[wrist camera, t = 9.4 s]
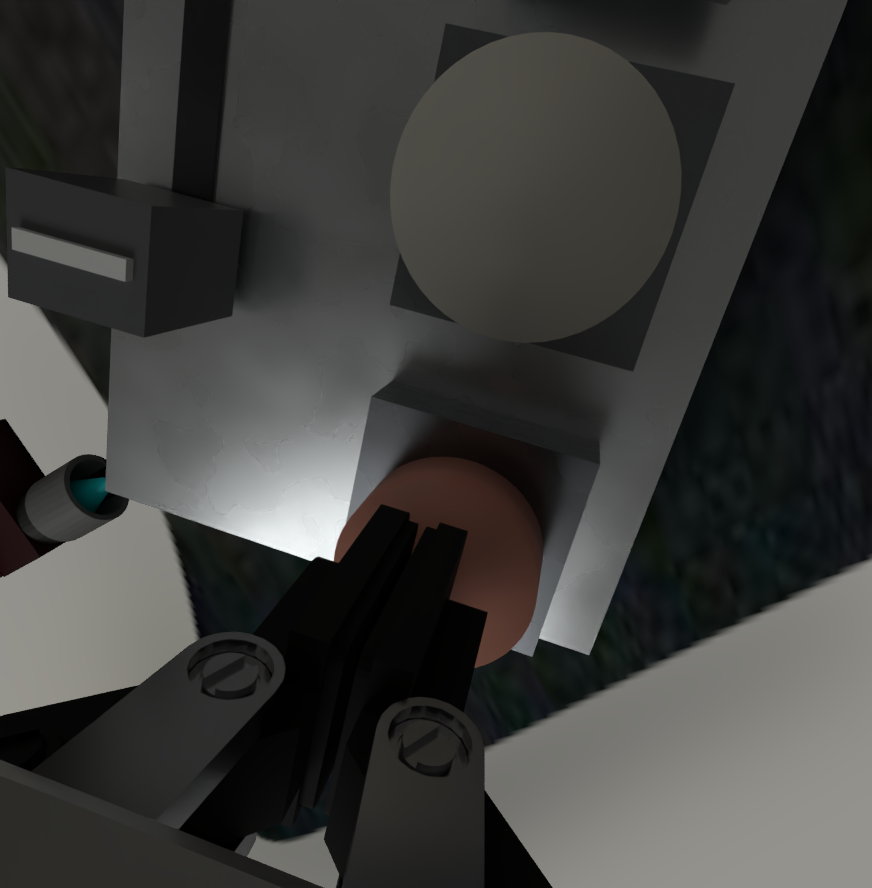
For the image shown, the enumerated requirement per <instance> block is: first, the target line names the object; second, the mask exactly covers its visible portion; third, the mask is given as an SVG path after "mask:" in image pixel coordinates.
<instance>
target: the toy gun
mask: <svg viewBox="0 0 872 888" xmlns="http://www.w3.org/2000/svg"><path fill="white" fill-rule="evenodd" d="M105 485H106V459H104V458H102V457H100V456H96V455H90V454H88V455H81V456H78V457H76V458H74V459H73V460H71V461H69V462H68V463H66V464H65V465H63V466H61V467H60V468H58V469H56V470H55V471H53V472H51V473H50V474H49V475H47V476H45V475H44V473H43V472H42V470H41V469H40V468H39V466H38V465H37V463H36V462H35V460H34V459H33V458H32V456H31V455H30V453H29V452H28V451H27V449H26V447H25V446H24V445H23V443H22V442H21V440H20V439H19V437H18V436H17V435H16V433H15V432H14V430H13V429H12V427H11V426H10V424H9V423H8V422H7V420H6V419H2V420H0V577H2V576H4V577H5V576H7V575H9V574H10V573H12V572H14V571H16V570H18V569H19V568H21V567H23V566H25V565H27V564H28V563H30V562H32V561H34V560H36V559H38V558H40V557H41V556H43V555H45V554H46V553H48V552H50V551H51V550H53V549H55V548H56V547H58V546H60V545H61V544H63V543H65V542H66V541H72V540H76V539H78V538H80V537H82V536H84V535H86V534H87V533H89V532H91V531H93V530H95V529H96V528H98V527H100V526H102V525H104V524H106V523H107V522H109V521H111V520H113V519H115V518H117V517H119V516H120V515H121V514H122V513H123V512H124V511H125V509H126V508H127V505H128V502H129V499H128V498H125V497H122V496H119V495H116V494H113V493H110V492H107V491H105Z"/></svg>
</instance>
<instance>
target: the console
mask: <svg viewBox="0 0 872 888" xmlns="http://www.w3.org/2000/svg"><path fill="white" fill-rule="evenodd" d="M847 1H848V0H731V1H730V2H729V3H728V4H727V5H723V4H718V3H713V2H708V1H702V0H124V23H123V48H122V74H121V100H120V125H119V151H118V177H117V179H125V180H129V181H133V182H137V183H141V184H144V185H148V186H152V187H156V188H160V189H163V190H167V191H171V192H175V193H179V194H182V195H186V196H190V197H194V198H198V199H202V200H205V201H209V202H213V203H217V204H221V205H224V206H228V207H232V208H236V209H240V210H243V211H244V212H243V222H242V231H241V240H240V249H239V258H238V267H237V277H236V286H235V295H234V304H233V313H232V316H231V317H227V318H223V319H218V320H214V321H210V322H206V323H202V324H198V325H194V326H190V327H186V328H182V329H178V330H174V331H169V332H165V333H161V334H157V335H153V336H149V337H145V338H143V337H140V336H136V335H133V334H130V333H126V332H123V331H120V330H116V329H113V328H112V331H111V357H110V382H109V408H108V434H107V459H106V485H105V491H107V492H110V493H113V494H116V495H119V496H122V497H125V498H128V499H131V500H134V501H137V502H140V503H143V504H145V505H148V506H152V507H154V508H157V509H160V510H163V511H166V512H169V513H172V514H175V515H178V516H181V517H184V518H187V519H190V520H193V521H196V522H198V523H201V524H204V525H207V526H210V527H213V528H216V529H219V530H222V531H225V532H228V533H231V534H234V535H237V536H240V537H243V538H246V539H249V540H252V541H254V542H257V543H260V544H263V545H266V546H269V547H272V548H275V549H278V550H281V551H284V552H287V553H290V554H293V555H296V556H299V557H302V558H305V559H307V560H310V561H312V560H313V559H315V558H316V557H322V558H325V559H328V560H331V561H334V554H335V548H336V545H337V541H338V538H339V536H340V534H341V531H342V529H343V528H344V526H345V524H346V523H347V521H348V520H349V518H350V517H351V516H352V515H353V514H354V512H355V511H356V510H357V509H358V508H359V506H360V505H361V504H362V503H363V502H364V500H365V499H366V498H367V497H368V496H369V494H370V493H371V492H372V491H373V490H374V489H375V487H376V486H377V485H378V484H379V483H380V482H381V481H382V479H384V478H385V477H386V476H387V475H388V474H390V473H391V472H392V471H394V470H395V469H397V468H399V467H400V466H403V465H405V464H407V463H409V462H412V461H416V460H419V459H423V458H430V457H455V458H461V459H465V460H470V461H473V462H476V463H478V464H481V465H484V466H486V467H488V468H490V469H492V470H494V471H495V472H497V473H498V474H500V475H501V476H503V477H504V478H506V479H507V480H508V481H509V482H510V483H512V484H513V485H514V486H515V487H516V488H517V489H518V490H519V491H520V493H521V494H522V495H523V496H524V497H525V499H526V500H527V502H528V503H529V505H530V506H531V508H532V510H533V512H534V514H535V516H536V518H537V520H538V523H539V526H540V529H541V534H542V539H543V561H542V568H541V575H540V582H539V588H538V595H537V602H536V607H535V611H534V615H533V618H532V620H531V622H530V625H529V627H528V629H527V630H526V632H525V633H524V635H523V637H522V638H521V639H520V640H519V641H518V643H517V644H516V645H515V646H514V647H513V648H512V649H511V650H514V651H517V652H520V653H523V654H526V655H529V656H533V653H534V650H535V647H536V644H537V642H538V639H539V638H540V639H543V640H546V641H549V642H552V643H555V644H558V645H561V646H564V647H567V648H570V649H573V650H576V651H579V652H581V653H584V654H587V655H589V654H590V651H591V649H592V646H593V644H594V641H595V639H596V636H597V634H598V631H599V629H600V626H601V624H602V621H603V619H604V616H605V614H606V611H607V608H608V606H609V603H610V601H611V598H612V596H613V593H614V591H615V588H616V586H617V583H618V581H619V578H620V576H621V573H622V570H623V568H624V565H625V563H626V560H627V558H628V555H629V553H630V550H631V548H632V545H633V543H634V540H635V538H636V535H637V533H638V530H639V527H640V525H641V522H642V520H643V517H644V515H645V512H646V510H647V507H648V505H649V502H650V500H651V497H652V495H653V492H654V490H655V487H656V484H657V482H658V479H659V477H660V474H661V472H662V469H663V467H664V464H665V462H666V459H667V457H668V454H669V452H670V449H671V447H672V444H673V441H674V439H675V436H676V434H677V431H678V429H679V426H680V424H681V421H682V419H683V416H684V414H685V411H686V409H687V406H688V404H689V401H690V398H691V396H692V393H693V391H694V388H695V386H696V383H697V381H698V378H699V376H700V373H701V371H702V368H703V366H704V363H705V361H706V358H707V355H708V353H709V350H710V348H711V345H712V343H713V340H714V338H715V335H716V333H717V330H718V328H719V325H720V323H721V320H722V318H723V315H724V312H725V310H726V307H727V305H728V302H729V300H730V297H731V295H732V292H733V290H734V287H735V285H736V282H737V280H738V277H739V275H740V272H741V269H742V267H743V264H744V262H745V259H746V257H747V254H748V252H749V249H750V247H751V244H752V242H753V239H754V237H755V234H756V232H757V229H758V226H759V224H760V221H761V219H762V216H763V214H764V211H765V209H766V206H767V204H768V201H769V199H770V196H771V194H772V191H773V188H774V186H775V183H776V181H777V178H778V176H779V173H780V171H781V168H782V166H783V163H784V161H785V158H786V156H787V153H788V151H789V148H790V145H791V143H792V140H793V138H794V135H795V133H796V130H797V128H798V125H799V123H800V120H801V118H802V115H803V113H804V110H805V108H806V105H807V102H808V100H809V97H810V95H811V92H812V90H813V87H814V85H815V82H816V80H817V77H818V75H819V72H820V70H821V67H822V65H823V62H824V59H825V57H826V54H827V52H828V49H829V47H830V44H831V42H832V39H833V37H834V34H835V32H836V29H837V27H838V24H839V22H840V19H841V16H842V14H843V11H844V9H845V6H846V4H847ZM534 32H555V33H563V34H570V35H574V36H578V37H581V38H585V39H588V40H592V41H594V42H596V43H598V44H600V45H602V46H604V47H607V48H609V49H611V50H612V51H614V52H615V53H617V54H618V55H620V56H621V57H623V58H624V59H625V60H627V61H628V62H629V63H630V64H631V65H632V66H633V67H635V68H636V69H637V70H638V71H639V72H640V73H641V74H642V75H643V76H644V77H645V79H646V80H647V81H648V82H649V84H650V85H651V86H652V87H653V89H654V90H655V91H656V93H657V95H658V96H659V98H660V100H661V102H662V103H663V105H664V107H665V108H666V111H667V113H668V115H669V118H670V120H671V123H672V125H673V128H674V131H675V135H676V139H677V143H678V147H679V153H680V162H681V196H680V202H679V209H678V215H677V218H676V222H675V225H674V229H673V233H672V235H671V238H670V240H669V243H668V245H667V247H666V250H665V252H664V254H663V256H662V258H661V259H660V261H659V263H658V265H657V266H656V268H655V270H654V272H653V273H652V274H651V276H650V277H649V278H648V280H647V281H646V282H645V284H644V285H643V286H642V288H641V289H640V290H639V291H638V292H637V293H636V294H635V295H634V296H633V297H632V298H631V299H630V300H629V301H628V302H627V303H626V304H625V305H624V306H622V307H621V308H620V309H619V310H617V311H616V312H615V313H614V314H613V315H611V316H609V317H608V318H606V319H605V320H603V321H601V322H600V323H598V324H597V325H595V326H593V327H591V328H588V329H586V330H584V331H582V332H580V333H577V334H574V335H571V336H568V337H565V338H562V339H556V340H551V341H546V342H532V343H521V342H508V341H503V340H498V339H494V338H490V337H487V336H484V335H481V334H478V333H475V332H473V331H471V330H469V329H467V328H465V327H463V326H461V325H460V324H458V323H457V322H455V321H454V320H452V319H451V318H449V317H448V316H446V315H445V314H444V313H443V312H442V311H440V310H439V309H438V308H437V307H436V306H435V305H434V304H432V302H431V301H430V300H429V299H428V298H427V297H426V296H425V294H424V293H423V292H422V291H421V290H420V288H419V287H418V285H417V284H416V282H415V281H414V279H413V278H412V276H411V275H410V273H409V271H408V269H407V267H406V265H405V263H404V261H403V259H402V256H401V253H400V251H399V248H398V245H397V242H396V238H395V234H394V230H393V225H392V218H391V209H390V183H391V176H392V168H393V163H394V159H395V155H396V151H397V147H398V144H399V141H400V139H401V136H402V133H403V131H404V128H405V126H406V124H407V122H408V120H409V118H410V116H411V114H412V112H413V111H414V109H415V107H416V106H417V104H418V103H419V102H420V100H421V99H422V97H423V96H424V94H425V93H426V92H427V90H428V89H429V88H430V87H431V86H432V85H433V84H434V82H435V81H436V80H437V79H438V78H439V77H440V76H441V75H442V74H443V73H444V72H446V71H447V70H448V69H449V68H450V67H451V66H452V65H454V64H455V63H456V62H458V61H459V60H461V59H462V58H464V57H465V56H466V55H468V54H469V53H471V52H473V51H475V50H477V49H479V48H481V47H483V46H485V45H487V44H489V43H491V42H494V41H497V40H500V39H503V38H506V37H509V36H514V35H520V34H525V33H534Z"/></svg>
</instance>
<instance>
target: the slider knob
mask: <svg viewBox="0 0 872 888" xmlns="http://www.w3.org/2000/svg"><path fill="white" fill-rule="evenodd" d="M6 211H7V257H8V297H10V298H13V299H16V300H20V301H23V302H26V303H30V304H33V305H36V306H40V307H43V308H46V309H50V310H53V311H56V312H60V313H63V314H66V315H70V316H73V317H76V318H80V319H83V320H86V321H90V322H93V323H96V324H100V325H103V326H106V327H110V328H113V329H116V330H120V331H123V332H126V333H130V334H133V335H136V336H140V337H143V338H145V337H149V336H153V335H157V334H161V333H165V332H169V331H174V330H178V329H182V328H186V327H190V326H194V325H198V324H202V323H206V322H210V321H214V320H218V319H223V318H227V317H231V316H232V313H233V304H234V295H235V286H236V277H237V267H238V258H239V249H240V240H241V231H242V222H243V212H244V211H243V210H240V209H236V208H232V207H228V206H224V205H221V204H217V203H213V202H209V201H205V200H202V199H198V198H194V197H190V196H186V195H182V194H179V193H175V192H171V191H167V190H163V189H160V188H156V187H152V186H148V185H144V184H141V183H137V182H133V181H129V180H125V179H116V178H107V177H97V176H88V175H78V174H68V173H59V172H49V171H39V170H30V169H20V168H11V167H6Z"/></svg>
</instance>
